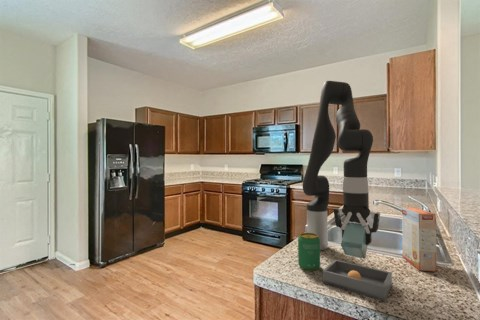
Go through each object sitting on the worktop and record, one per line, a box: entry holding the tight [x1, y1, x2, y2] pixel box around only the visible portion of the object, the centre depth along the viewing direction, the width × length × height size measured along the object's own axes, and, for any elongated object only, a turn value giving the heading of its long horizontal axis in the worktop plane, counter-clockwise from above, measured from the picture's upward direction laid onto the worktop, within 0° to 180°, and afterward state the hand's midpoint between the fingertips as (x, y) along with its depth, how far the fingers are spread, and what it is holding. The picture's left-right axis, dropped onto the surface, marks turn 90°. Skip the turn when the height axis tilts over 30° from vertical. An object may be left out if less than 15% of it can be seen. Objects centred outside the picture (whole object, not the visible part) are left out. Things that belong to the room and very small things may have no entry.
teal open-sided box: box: [340, 222, 369, 260], centre depth 81 cm, size 6×6×8 cm
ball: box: [348, 270, 361, 280], centre depth 80 cm, size 4×4×4 cm
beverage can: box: [297, 232, 321, 272], centre depth 96 cm, size 8×8×12 cm
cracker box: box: [401, 206, 437, 273], centre depth 97 cm, size 14×6×21 cm, turn 168°
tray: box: [322, 259, 393, 302], centre depth 82 cm, size 18×12×4 cm, turn 51°
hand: (356, 242), depth 82 cm, fingers closed on teal open-sided box, 6 cm apart
